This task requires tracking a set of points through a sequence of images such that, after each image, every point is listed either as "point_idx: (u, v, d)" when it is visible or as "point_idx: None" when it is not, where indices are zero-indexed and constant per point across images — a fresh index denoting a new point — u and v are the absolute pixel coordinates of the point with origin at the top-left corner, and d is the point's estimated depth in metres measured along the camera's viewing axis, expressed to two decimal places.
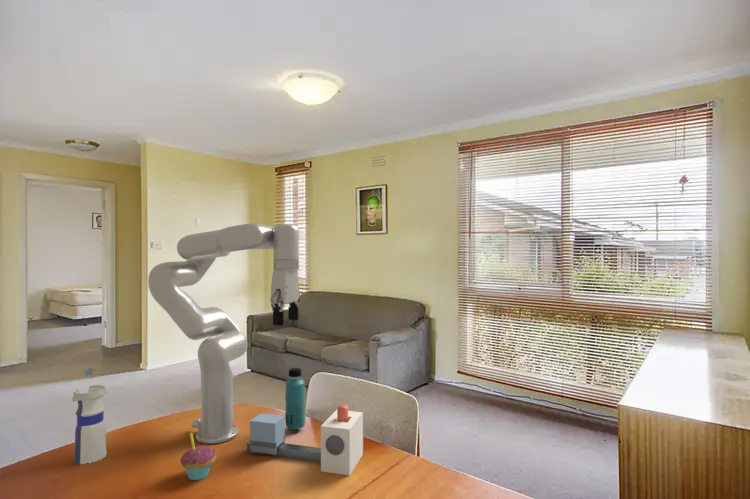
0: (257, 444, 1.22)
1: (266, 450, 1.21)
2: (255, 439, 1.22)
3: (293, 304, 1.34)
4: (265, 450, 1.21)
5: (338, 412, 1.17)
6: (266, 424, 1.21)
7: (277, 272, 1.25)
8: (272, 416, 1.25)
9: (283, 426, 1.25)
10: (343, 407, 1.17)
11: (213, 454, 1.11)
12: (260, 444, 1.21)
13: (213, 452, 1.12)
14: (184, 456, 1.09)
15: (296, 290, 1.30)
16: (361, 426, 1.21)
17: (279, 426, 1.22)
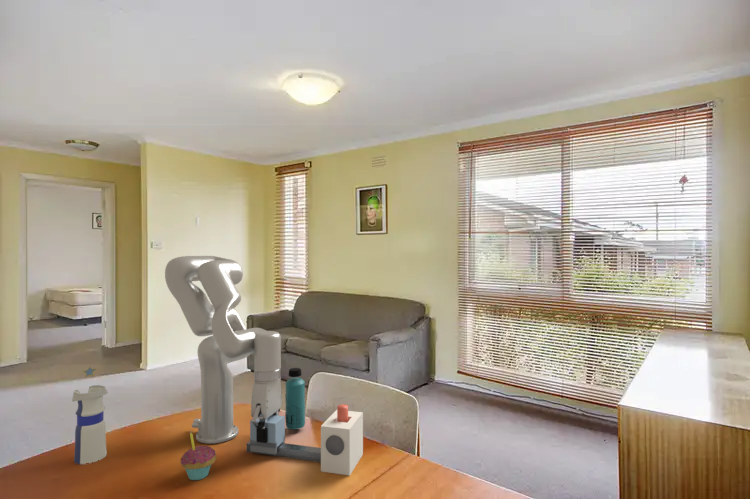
0: (257, 444, 1.22)
1: (266, 450, 1.21)
2: (255, 439, 1.22)
3: None
4: (265, 450, 1.21)
5: (338, 412, 1.17)
6: None
7: (258, 386, 1.20)
8: (272, 416, 1.25)
9: (283, 426, 1.25)
10: (343, 407, 1.17)
11: (213, 454, 1.11)
12: (260, 444, 1.21)
13: (213, 452, 1.12)
14: (184, 456, 1.09)
15: (278, 399, 1.25)
16: (361, 426, 1.21)
17: (279, 426, 1.22)
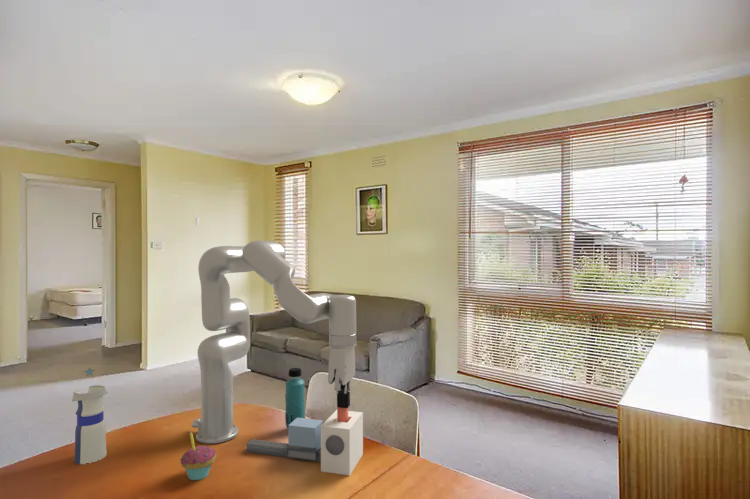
0: (296, 449, 1.19)
1: (305, 455, 1.18)
2: (294, 444, 1.19)
3: None
4: (304, 455, 1.18)
5: (338, 412, 1.17)
6: (305, 429, 1.18)
7: (336, 350, 1.14)
8: (310, 420, 1.22)
9: None
10: None
11: (213, 454, 1.11)
12: (299, 450, 1.18)
13: (213, 452, 1.12)
14: (184, 456, 1.09)
15: (353, 366, 1.19)
16: (361, 426, 1.21)
17: (318, 430, 1.19)
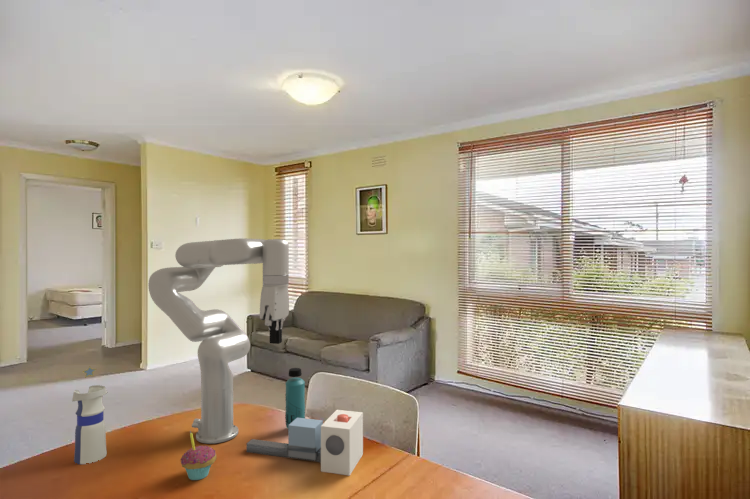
0: (296, 449, 1.19)
1: (305, 455, 1.18)
2: (294, 444, 1.19)
3: None
4: (304, 455, 1.18)
5: None
6: (305, 429, 1.18)
7: (266, 288, 1.22)
8: (310, 420, 1.22)
9: None
10: (343, 417, 1.17)
11: (213, 454, 1.11)
12: (299, 450, 1.18)
13: (213, 452, 1.12)
14: (184, 456, 1.09)
15: (286, 306, 1.28)
16: (361, 426, 1.21)
17: (318, 430, 1.19)
